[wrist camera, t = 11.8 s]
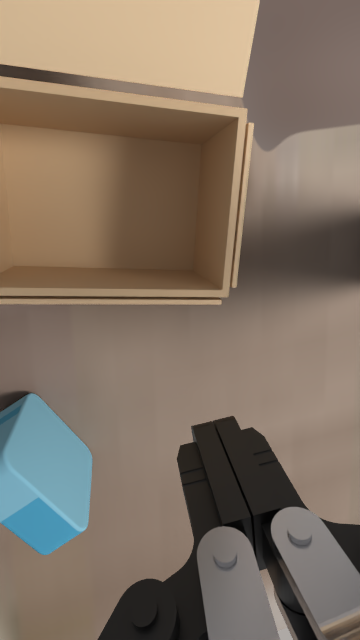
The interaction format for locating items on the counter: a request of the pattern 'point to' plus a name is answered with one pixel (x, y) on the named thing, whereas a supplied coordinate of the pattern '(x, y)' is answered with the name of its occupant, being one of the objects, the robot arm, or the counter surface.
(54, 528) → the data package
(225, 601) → the robot arm
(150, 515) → the counter surface
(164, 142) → the carton
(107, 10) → the flap
